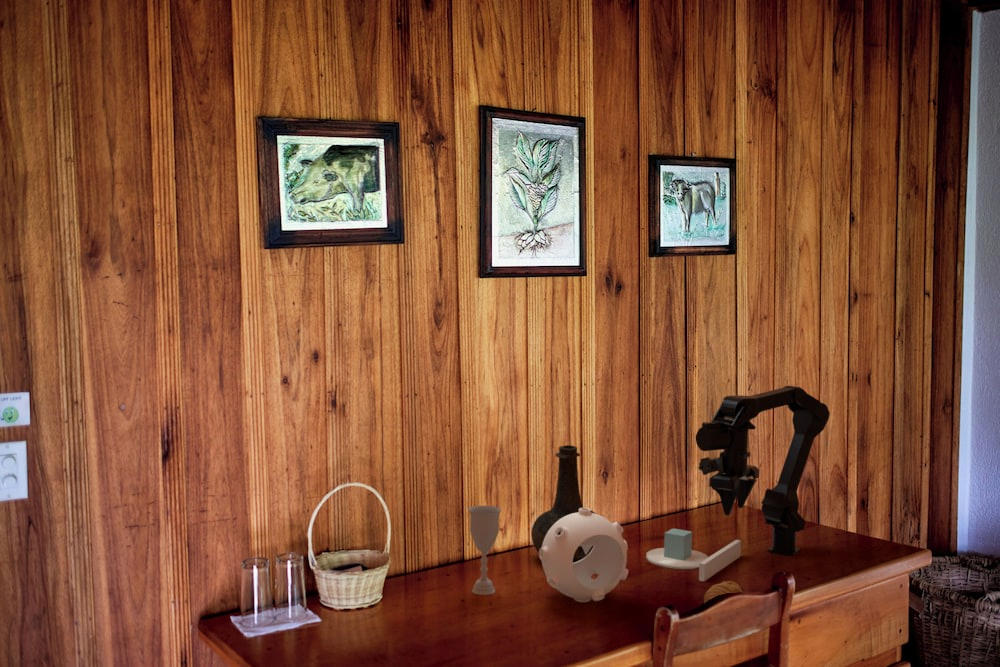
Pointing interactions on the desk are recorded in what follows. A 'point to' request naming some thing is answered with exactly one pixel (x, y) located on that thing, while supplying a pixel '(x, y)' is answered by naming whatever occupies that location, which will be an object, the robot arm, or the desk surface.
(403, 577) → the desk surface
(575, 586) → the decorative ball
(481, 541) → the chalice
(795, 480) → the robot arm
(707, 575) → the panel
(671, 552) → the block
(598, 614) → the desk surface
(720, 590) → the pastry
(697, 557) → the plate
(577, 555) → the glass bottle
